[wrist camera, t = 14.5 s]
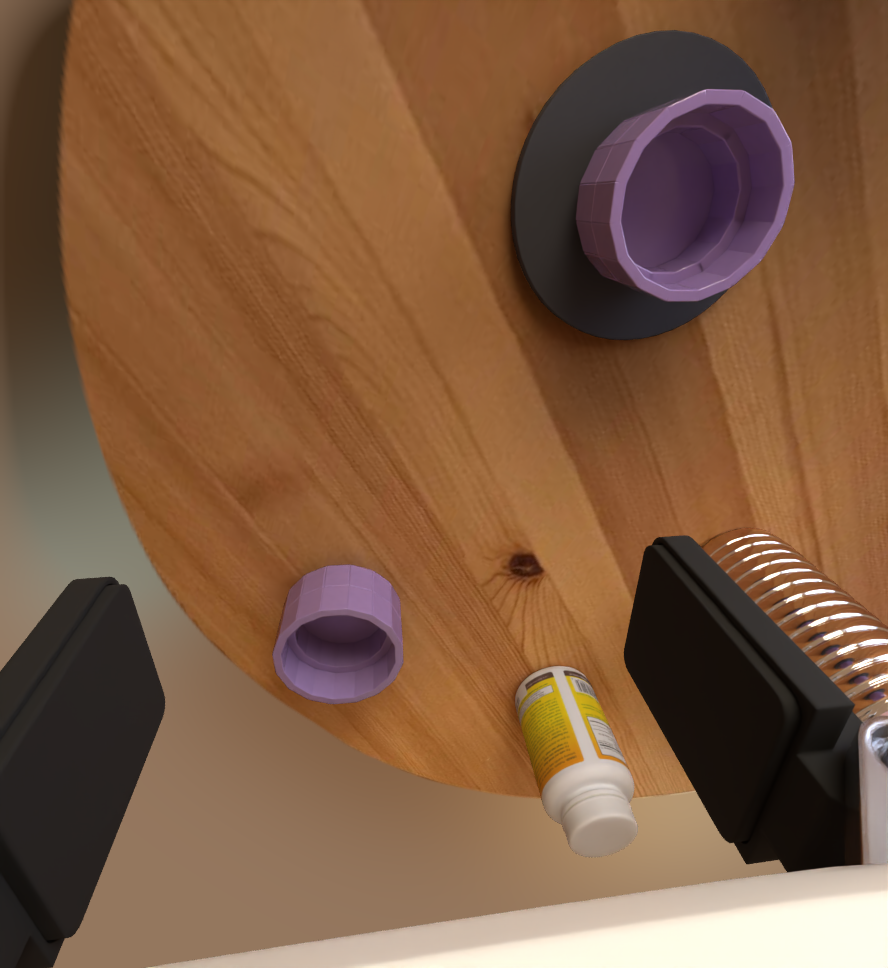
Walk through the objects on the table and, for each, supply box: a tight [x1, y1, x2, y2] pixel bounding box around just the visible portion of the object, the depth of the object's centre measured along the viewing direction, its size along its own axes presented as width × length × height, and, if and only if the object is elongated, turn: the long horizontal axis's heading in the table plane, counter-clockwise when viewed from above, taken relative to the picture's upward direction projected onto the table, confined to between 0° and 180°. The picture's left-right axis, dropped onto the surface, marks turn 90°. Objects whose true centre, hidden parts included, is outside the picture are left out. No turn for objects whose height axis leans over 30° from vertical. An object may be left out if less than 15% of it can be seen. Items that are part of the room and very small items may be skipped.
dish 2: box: [576, 89, 794, 302], centre depth 22 cm, size 7×7×4 cm
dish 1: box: [272, 565, 403, 704], centre depth 31 cm, size 7×7×4 cm
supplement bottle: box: [515, 666, 638, 857], centre depth 34 cm, size 6×6×10 cm
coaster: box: [511, 30, 773, 340], centre depth 24 cm, size 12×12×1 cm
